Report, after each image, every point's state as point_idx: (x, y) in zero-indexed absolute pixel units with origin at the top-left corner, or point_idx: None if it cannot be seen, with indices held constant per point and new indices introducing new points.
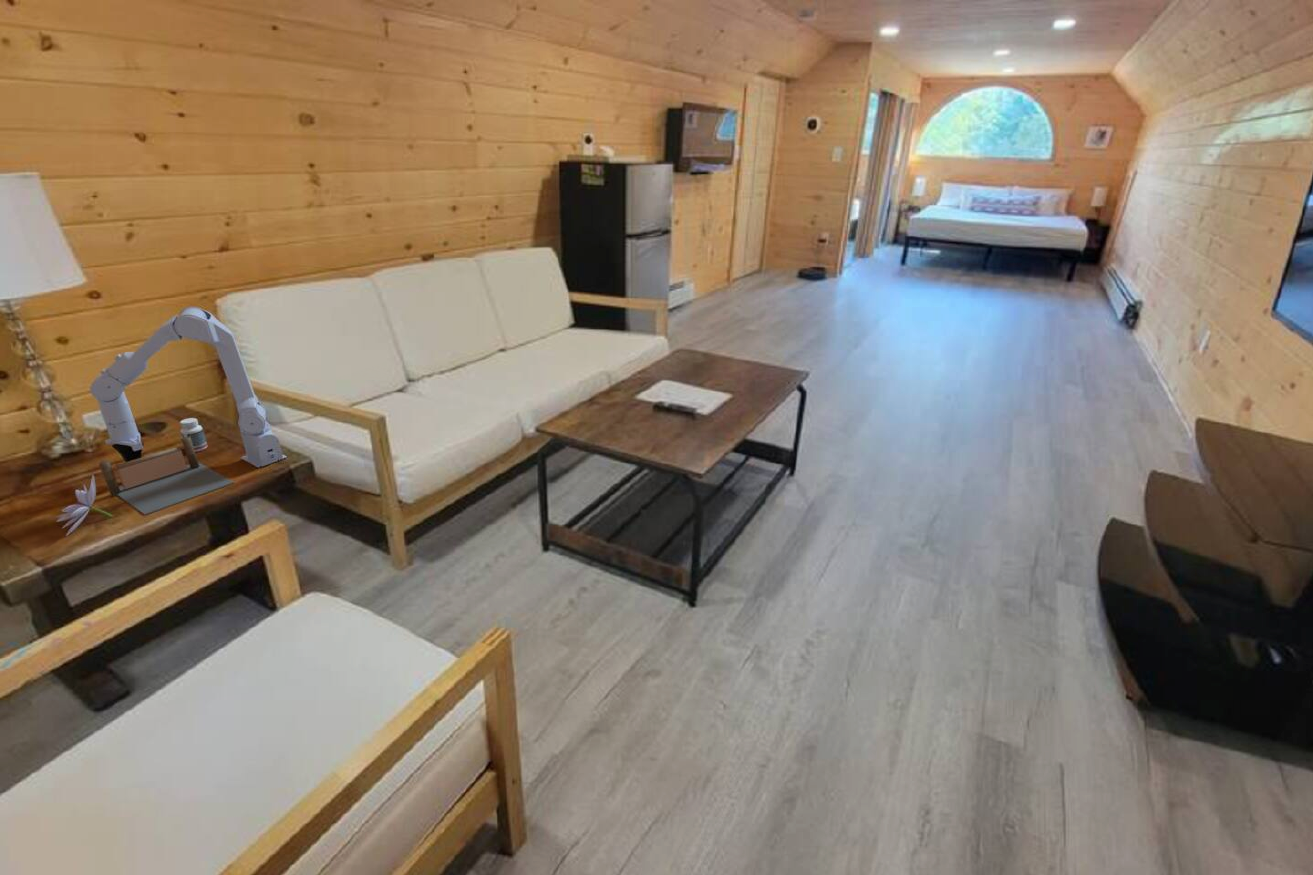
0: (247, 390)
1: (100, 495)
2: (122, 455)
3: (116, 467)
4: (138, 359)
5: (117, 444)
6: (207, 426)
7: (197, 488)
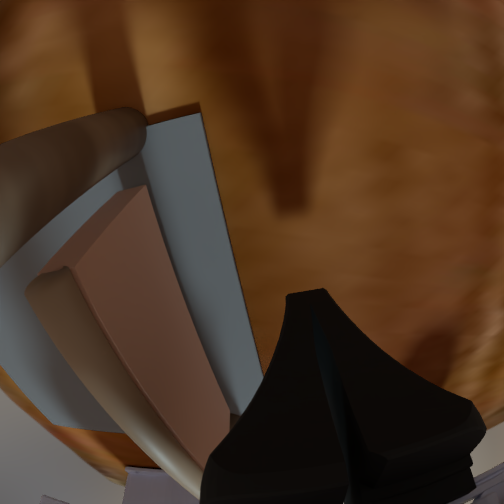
0: None
1: (171, 53)
2: (319, 381)
3: (60, 276)
4: None
5: (441, 460)
6: (493, 419)
7: (37, 376)
